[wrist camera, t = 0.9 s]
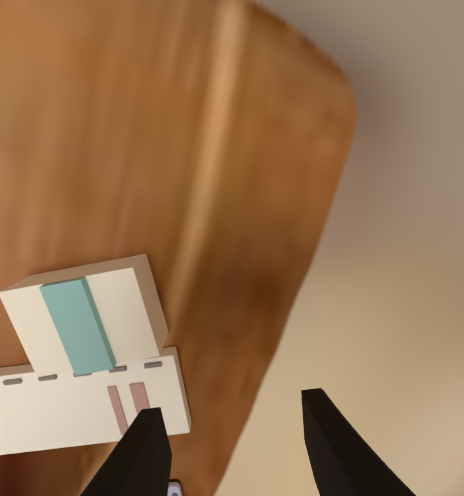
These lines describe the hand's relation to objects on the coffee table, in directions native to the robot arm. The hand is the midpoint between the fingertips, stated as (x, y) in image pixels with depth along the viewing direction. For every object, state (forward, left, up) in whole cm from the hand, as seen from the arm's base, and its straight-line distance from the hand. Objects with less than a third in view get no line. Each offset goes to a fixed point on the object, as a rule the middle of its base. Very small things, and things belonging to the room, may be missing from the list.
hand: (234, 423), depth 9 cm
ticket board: (-7, +14, -10) cm, 19 cm away
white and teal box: (0, +9, -11) cm, 14 cm away
